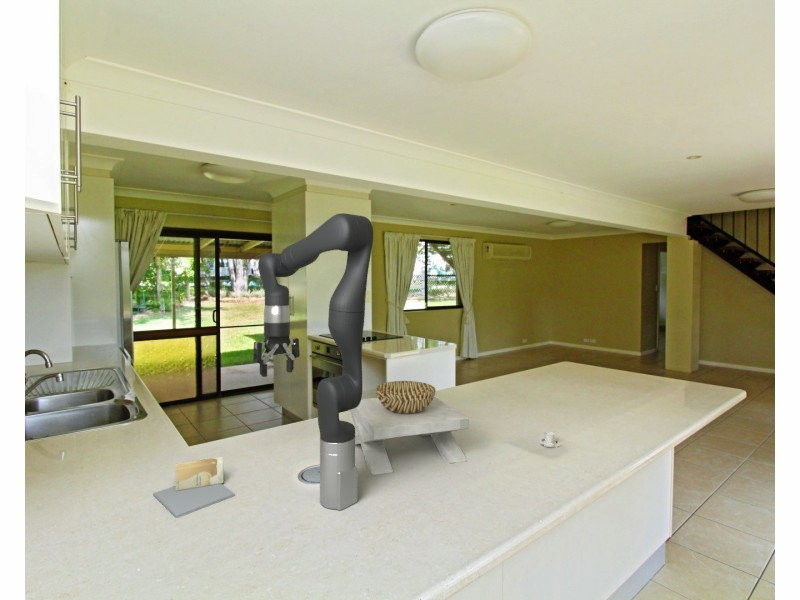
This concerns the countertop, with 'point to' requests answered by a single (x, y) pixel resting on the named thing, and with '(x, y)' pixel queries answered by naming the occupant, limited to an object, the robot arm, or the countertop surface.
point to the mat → (191, 498)
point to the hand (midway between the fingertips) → (277, 374)
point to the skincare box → (199, 473)
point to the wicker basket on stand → (405, 421)
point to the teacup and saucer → (549, 439)
